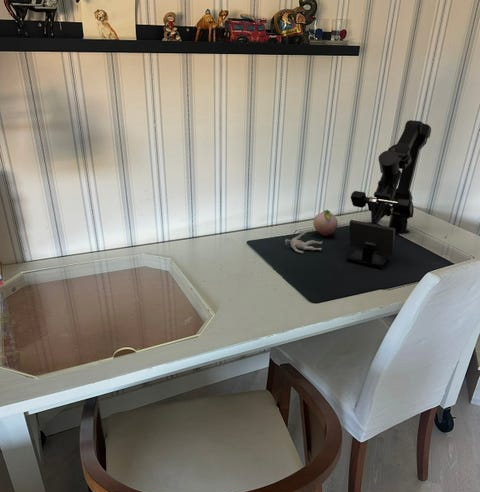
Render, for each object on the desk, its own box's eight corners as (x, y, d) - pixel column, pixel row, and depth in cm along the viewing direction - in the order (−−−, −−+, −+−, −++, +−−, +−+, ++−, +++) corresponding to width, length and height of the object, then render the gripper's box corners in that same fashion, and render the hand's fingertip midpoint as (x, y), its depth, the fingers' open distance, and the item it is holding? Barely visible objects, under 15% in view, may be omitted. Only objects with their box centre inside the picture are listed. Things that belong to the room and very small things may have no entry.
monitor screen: (351, 243, 162) (350, 219, 155) (393, 252, 155) (395, 228, 148) (349, 247, 161) (348, 222, 154) (391, 256, 154) (393, 231, 147)
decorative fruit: (309, 231, 182) (312, 205, 178) (331, 231, 183) (334, 205, 178) (315, 240, 173) (318, 213, 169) (338, 240, 174) (341, 213, 170)
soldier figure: (321, 257, 162) (288, 247, 160) (314, 262, 167) (282, 252, 164) (323, 236, 165) (291, 226, 162) (317, 241, 170) (285, 231, 167)
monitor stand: (355, 253, 164) (357, 238, 162) (388, 260, 159) (391, 245, 157) (347, 261, 157) (349, 246, 155) (380, 269, 152) (383, 253, 150)
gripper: (418, 202, 159) (404, 244, 155) (363, 193, 167) (348, 232, 164) (417, 183, 149) (402, 227, 146) (358, 174, 158) (342, 216, 154)
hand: (372, 226), depth 153 cm, fingers closed
